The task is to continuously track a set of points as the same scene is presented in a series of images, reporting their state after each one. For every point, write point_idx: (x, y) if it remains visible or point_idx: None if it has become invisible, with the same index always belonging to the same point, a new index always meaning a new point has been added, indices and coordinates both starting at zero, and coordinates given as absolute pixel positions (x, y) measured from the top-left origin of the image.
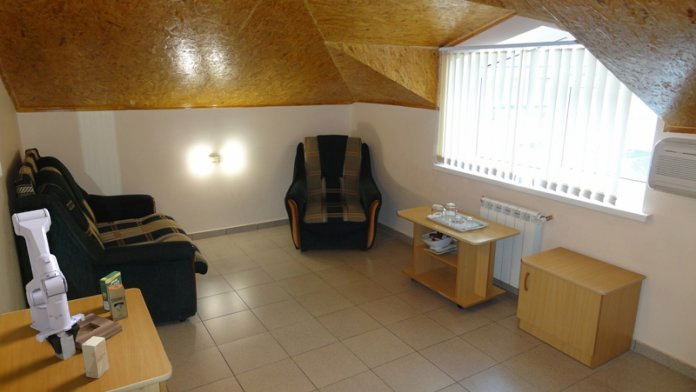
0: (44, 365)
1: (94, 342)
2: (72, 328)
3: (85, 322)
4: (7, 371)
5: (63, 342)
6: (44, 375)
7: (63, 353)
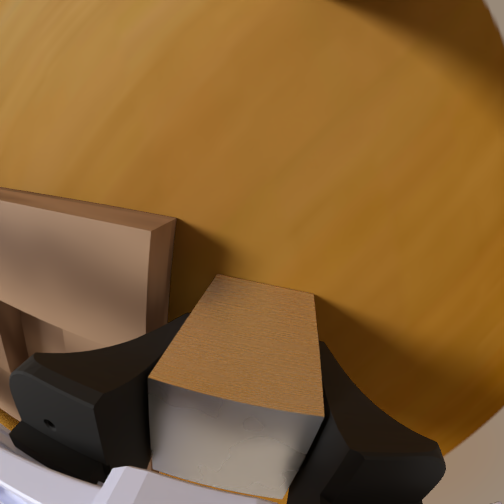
0: (391, 363)
1: None
2: (94, 434)
3: None
4: None
5: (292, 383)
6: (477, 281)
7: (312, 319)
